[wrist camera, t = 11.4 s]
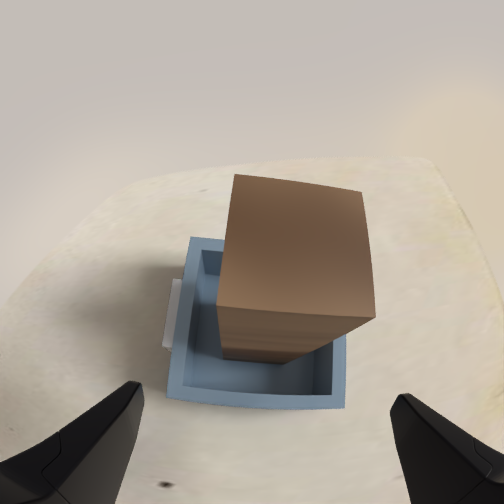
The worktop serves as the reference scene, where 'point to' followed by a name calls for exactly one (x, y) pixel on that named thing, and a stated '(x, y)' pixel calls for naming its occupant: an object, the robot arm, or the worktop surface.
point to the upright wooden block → (292, 269)
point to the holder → (235, 372)
